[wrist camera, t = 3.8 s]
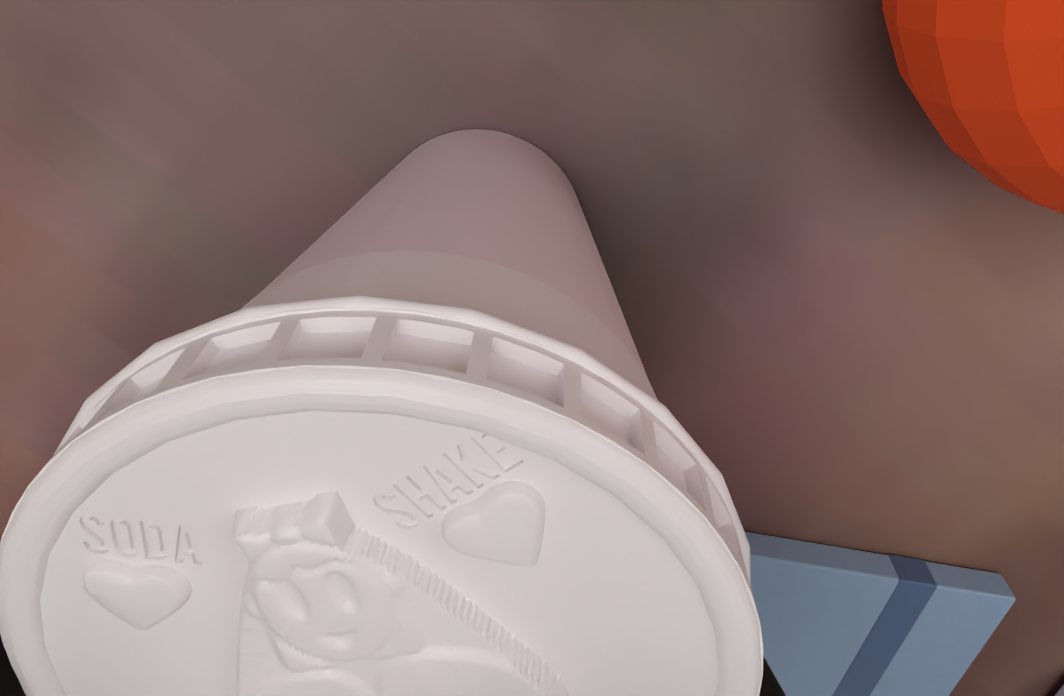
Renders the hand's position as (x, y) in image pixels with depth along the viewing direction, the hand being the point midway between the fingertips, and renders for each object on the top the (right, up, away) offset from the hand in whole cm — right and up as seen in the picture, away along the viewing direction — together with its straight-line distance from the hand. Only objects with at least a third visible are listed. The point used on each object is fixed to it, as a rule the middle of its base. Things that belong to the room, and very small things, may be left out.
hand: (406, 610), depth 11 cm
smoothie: (+1, +6, +5) cm, 7 cm away
